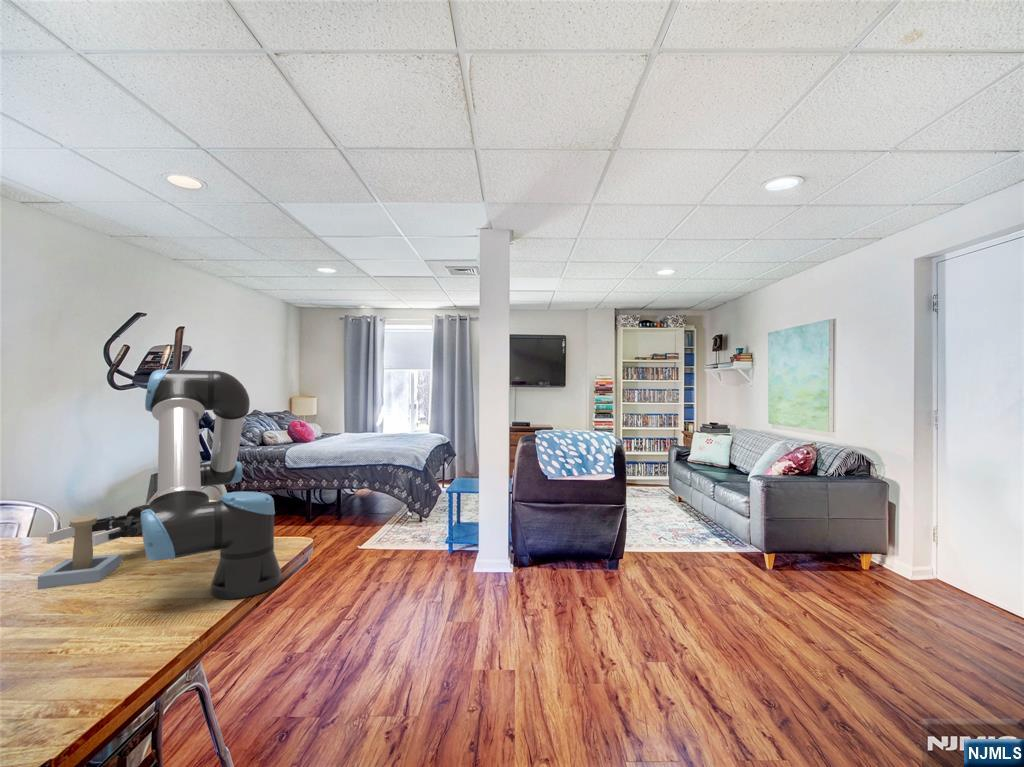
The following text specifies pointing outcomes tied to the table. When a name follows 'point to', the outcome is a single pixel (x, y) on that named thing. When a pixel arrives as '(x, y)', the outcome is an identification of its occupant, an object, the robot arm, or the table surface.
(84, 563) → the handle
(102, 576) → the socket block
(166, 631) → the table surface
